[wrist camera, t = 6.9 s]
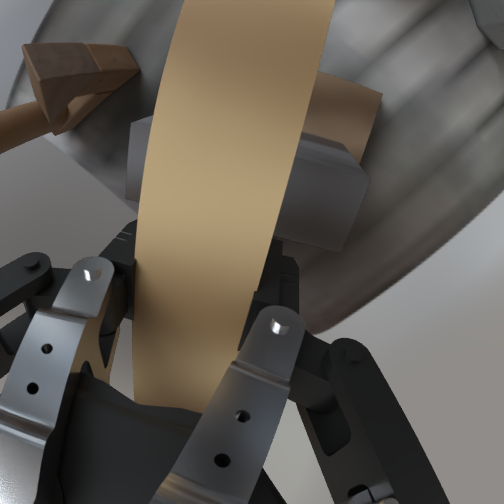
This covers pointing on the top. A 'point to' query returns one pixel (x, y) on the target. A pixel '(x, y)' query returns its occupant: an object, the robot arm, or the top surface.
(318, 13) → the oak bar
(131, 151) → the ridge stand
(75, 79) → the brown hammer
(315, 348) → the robot arm
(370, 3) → the top surface
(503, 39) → the coffee maker
